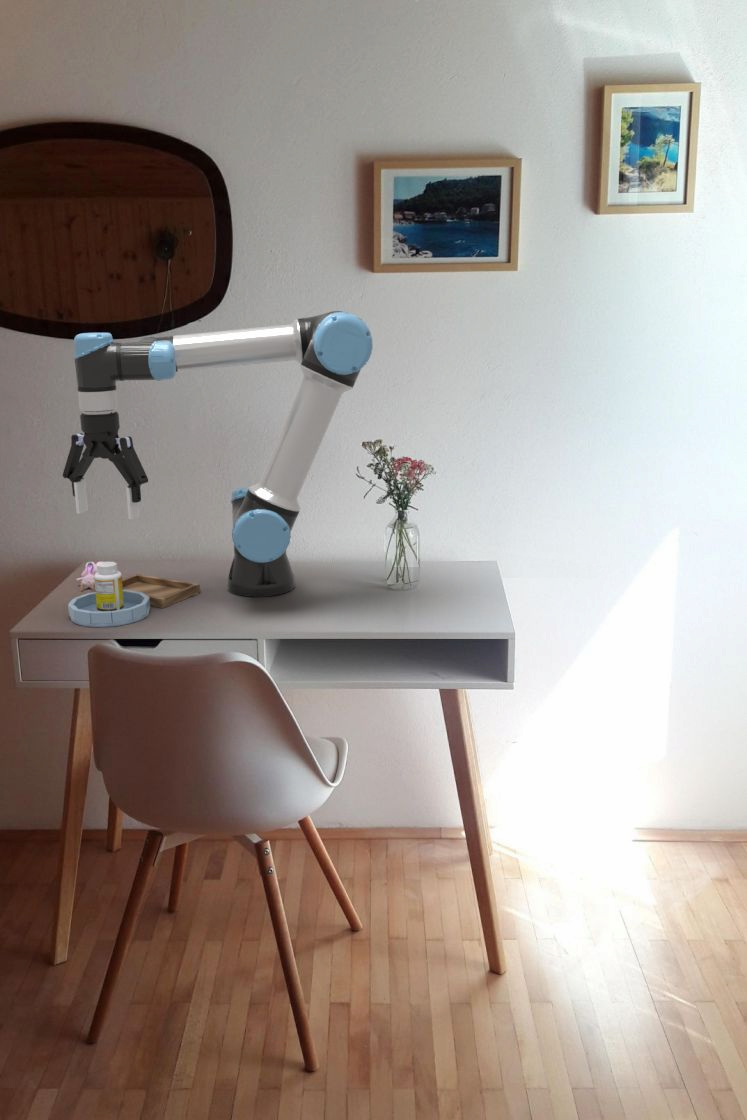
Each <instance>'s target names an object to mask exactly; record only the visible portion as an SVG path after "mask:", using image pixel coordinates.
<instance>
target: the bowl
mask: <svg viewBox="0 0 747 1120" xmlns="http://www.w3.org/2000/svg"><path fill="white" fill-rule="evenodd" d="M123 599H124V609H121V610H116V611H97V604H96V592H95V591H93V592H88V593H84V594H82V595H79V596H76V597H74V598H72V599H71V601H70V602H69V603H68V604H67V607H68V608H67V609H68V615H69V617H70V621H71V622H72V623H74V624H76V625H79V626H83V627H90V628H91V627H92V628H109V627H118V626H125V625H129V624H134V623H136V622H140V621H142V620H144V619H145V618H146V617H148V616H149V615H150V608H151V606H150V598H149V597H148V596H147V595H145V594H144V593H142V592H137V591H131V590H123Z"/></svg>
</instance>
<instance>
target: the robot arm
mask: <svg viewBox="0 0 747 1120" xmlns="http://www.w3.org/2000/svg"><path fill="white" fill-rule="evenodd" d="M112 335H113V334H111V332H83V333H79V334H76V335H75V336H74V339H73V343H74V344H73V345H74V348H73V349H74V357H73V359H74V366H75V367H74V368H75V373H76V374H75V375H76V376H75V377H76V385H77V394H78V395H77V398H78V409H79V411H80V412H82V413H81V414H80V415H79V417H80V419H79V420H80V430H81V433H76V434H72V435H71V442H70V443H71V444H70V445H71V446H70V449H69V451H68V456H67V458H66V461H65V462H66V463H65V466H64V468H63V472H62V477H63V478H64V479H68V480H69V481H70V482H71V487H72V488H71V489H72V490H71V491H72V496H73V497H74V499H75V510H76V514H79V515H80V514H84V513H86V512H89V504H88V503H89V502H88V493H87V491H88V490H87V482H86V481H87V480H84V479H85V477H84V476H85V475H86V472H87V471H88V470H89V468H90V467H91V465H92V463H93V461H94V460H95V459H98V458H101V459H105V460H107V459H108V460H109V461H110V462H111V463H112V464H113V465H114V467H115V468H116V469H117V471H118V472H119V474H120V475H121V476H122V478H123V479H124V480H125V482H126V483H127V484H128V485H127V486H125V491H126V503H127V516H128V520H133V519H136V518H137V519H138V518H140V517H141V511H140V503H141V501H142V497H141V496H142V493H141V487H142V485H143V484H147V483H148V482H149V478H148V476H147V473H146V472H145V468H144V467H143V464H142V463H141V460H140V458H139V456H138V454H137V452H136V450H135V447H134V443H133V442H134V441H133V438H132V436H130V435H129V436H124V437H120V436H119V430H120V429H121V428H120V426H121V425H120V415H119V412H118V411H117V409H118V403H119V402H118V393H117V382H121V381H122V382H124V381H158V382H159V381H163V380H172V379H174V378H175V377H176V375H177V372H178V373H179V372H186V371H198V370H209V369H218V368H228V367H238V366H241V367H242V366H249V365H261V364H270V363H279V362H280V363H281V362H289V361H290V362H291V361H295V362H297V363H299V365H300V368H301V371H302V373H303V378H302V379H301V381H300V384H299V387H298V389H297V392H296V394H295V396H294V399H293V400H292V403H291V406H290V408H289V411H288V414H287V415H286V418H285V420H284V422H283V425H282V428H281V429H280V432H279V434H278V437H277V439H276V441H275V444H274V446H273V449H272V451H271V454H270V456H269V458H268V461H267V463H266V464H265V467H264V470H263V473H262V475H261V477H260V480H259V482H257V483H255V484H253V485H251V486H250V485H249V487H239V488H238V487H237V488H234V489H233V491H232V493H231V499H230V504H231V507H232V509H231V510H232V529H231V539H232V542H233V558H232V563H231V566H230V570H229V573H228V576H227V590H228V591H229V592H230V593H232V594H235V595H239V596H243V597H256V598H259V597H273V596H278V594H279V595H282V594H281V593H283V594H286V593H288V592H287V591H289V590H291V589H292V590H294V589H295V587H296V582H295V581H296V579H295V574H294V572H293V569H292V566H291V563H290V560H289V558H288V555H287V554H288V553H287V549H288V547H289V545H290V543H291V537H292V536H291V532H292V530H293V528H294V525H295V522H296V520H297V518H298V516H299V514H300V511H301V506H300V504H299V501H298V498H299V495H300V493H301V491H302V488H303V485H304V483H305V481H306V479H307V476H308V474H309V472H310V470H311V467H312V465H313V463H314V460H315V458H316V455H317V453H318V451H319V449H320V446H321V444H322V441H323V440H324V437H325V434H326V432H327V429H328V428H329V426H330V423H331V421H332V419H333V416H334V414H335V411H336V409H337V407H338V404H339V402H340V400H341V398H342V394H344V393H346V392H349V391H350V390H353V388H354V386H355V383H356V382H357V379H358V377H359V375H360V372H361V370H362V369H363V368H364V366H366V365H367V362H369V360H370V359H371V356H372V351H373V336H372V333H371V331H370V328H369V327H368V325H367V323H365V321H363V319H362V318H360V317H358V316H357V315H355V314H353V313H349V312H347V311H340V310H334V311H329V312H325V313H321V314H319V315H314V316H308V317H302V318H295V319H294V321H292V323H290V324H289V323H288V324H281V325H279V324H278V325H270V326H259V327H249V328H238V329H228V330H220V331H218V330H217V331H208V332H207V331H206V332H198V333H197V332H196V333H188V334H178V335H177V334H176V335H172V336H171V335H167V336H158V337H157V336H147V337H144V338H143V337H142V339H140V340H138V341H132V342H118V341H117V342H116V341H114V338H113V336H112ZM84 447H85V449H84ZM294 586H295V587H294ZM293 588H294V589H293ZM292 590H291V591H292ZM285 592H286V593H285ZM289 592H290V591H289Z"/></svg>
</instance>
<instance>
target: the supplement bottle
mask: <svg viewBox="0 0 747 1120" xmlns="http://www.w3.org/2000/svg"><path fill="white" fill-rule="evenodd" d="M97 563H98V562H97ZM97 570H98V572H97V573H96V574H95V575H94V581H95V590H94V592H96V604H97V611H116V610H121V609H124V599H123V587H122V579H123V576H122V572H121V571H120V570H118V564H117V562H115V561H102V562H101V563H98V564H97Z"/></svg>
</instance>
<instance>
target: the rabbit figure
mask: <svg viewBox="0 0 747 1120" xmlns="http://www.w3.org/2000/svg"><path fill="white" fill-rule="evenodd" d="M101 562H103V560H102V561H98V562H96V563H95V562H94V561H88V562H86V564H85V565H84V566H85V569H84V570H83V571H82V573H81V575H80V576H81V577H78V578H76V579H75V580H76V582H79V581H80V589H79V591H85V590H87V589H90V590H94V591H95V581H94V575H95V574H96V573H97V572H98V570H97V564H98V563H101Z"/></svg>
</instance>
